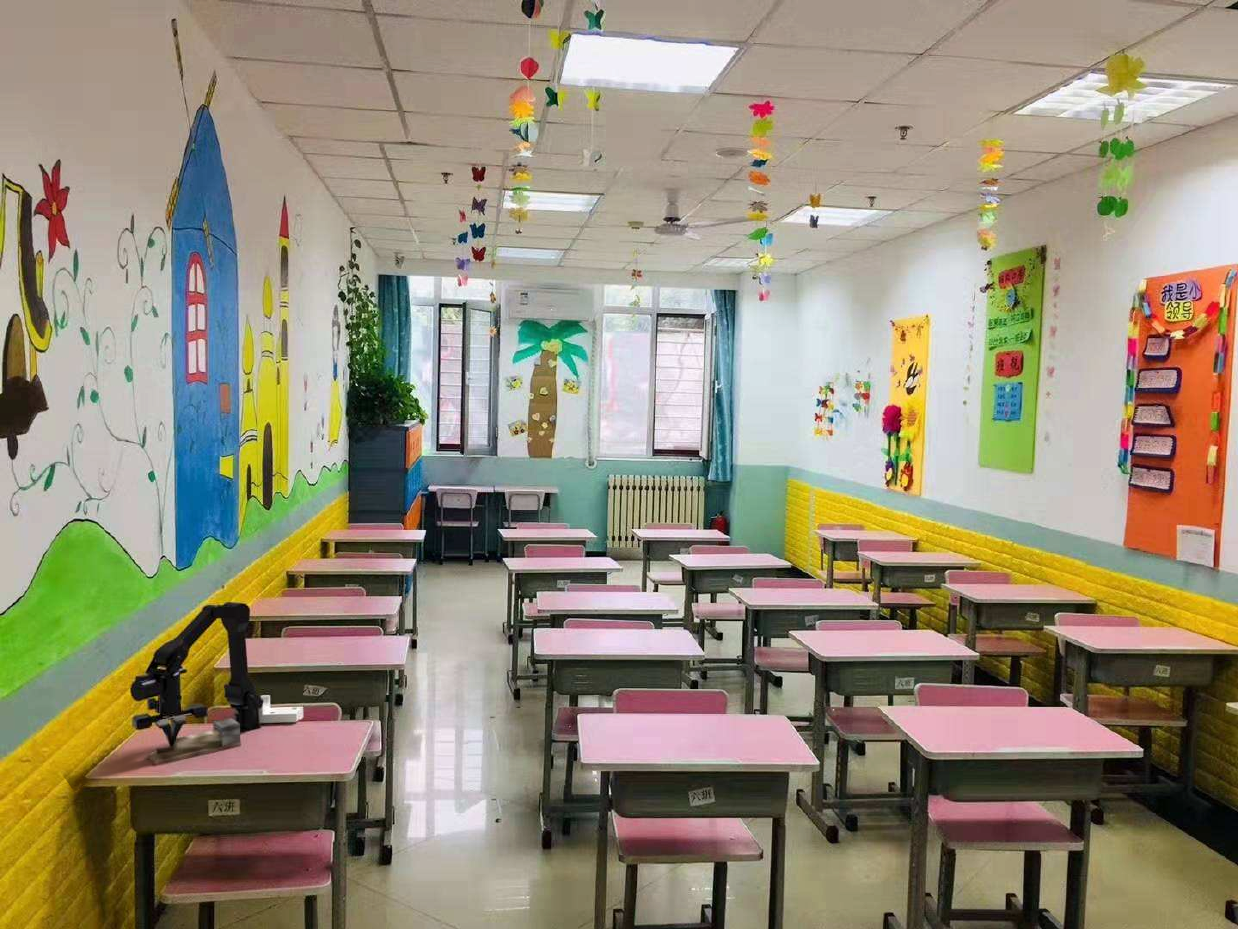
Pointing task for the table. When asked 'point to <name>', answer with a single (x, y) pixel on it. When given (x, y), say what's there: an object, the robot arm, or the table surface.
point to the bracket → (278, 712)
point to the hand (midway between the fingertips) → (171, 746)
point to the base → (228, 740)
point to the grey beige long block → (197, 739)
